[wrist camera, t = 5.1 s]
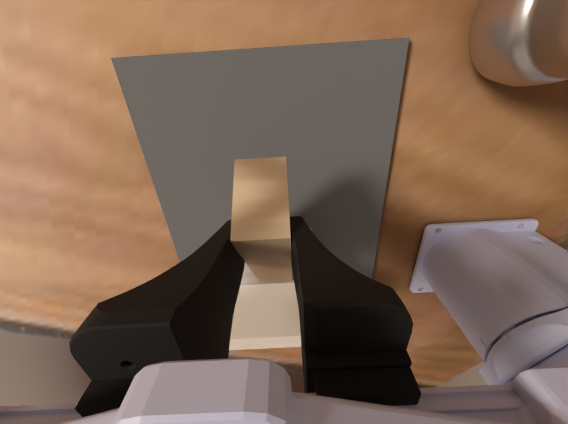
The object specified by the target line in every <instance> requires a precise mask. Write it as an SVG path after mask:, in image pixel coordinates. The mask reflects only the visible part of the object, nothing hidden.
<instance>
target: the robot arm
mask: <svg viewBox="0 0 568 424" xmlns="http://www.w3.org/2000/svg"><path fill="white" fill-rule="evenodd" d="M538 224H539V223H538V221H537V220H535V219H532V218H530V219H512V220H494V221H477V222H459V223H442V224H430V225H428V226H426V227H425V230H424V234H423V237H422V241H421V245H420V249H419V253H418V257H417V261H416V264H415V268H414V272H413V276H412V280H411V284H410V290H411V292H413V293H421V292H435V294H436V295H437V296H438V298H439V299H440V301H441V302H442V304H443V305H444V306H445V308H446V309H447V311H448V312H449V314H450V315H451V316H452V318H453V319H454V321H455V322H456V323H457V325H458V326H459V328H460V329H461V331H462V332H463V333H464V335H465V336H466V338H467V339H468V340H469V342H470V343H471V345H472V346H473V348H474V349H475V350H476V352H477V353H478V355H479V356H480V357H481V359H482V360H483V362H484V363H485V364H484V365H483V366H482V367H481V368H480V369H478V372H479V373H480V375H481V376H482V378H483V379H484V381H485V382H486V384H487V385H480V386H459V387H458V386H457V387H434V388H419V387H418V384H417V382H416V380H415V377H414V375H413V373H412V371H411V368H410V366H411V359H410V357H409V355H408V353H407V350H406V349H407V346H408V342H409V339H410V336H411V333H412V327H413V322H412V319H411V316H410V314H409V312H408V311H407V309H406V307H405V305H404V304H403V302H402V301H401V299H400V298H399V296H398V295H397V294H396V292H395V291H394V289H393V288H391V287H388V286H386V285H384V284H382V283H379V282H377V281H375V280H373V279H371V278H369V277H367V276H365V275H363V274H361V273H360V272H358V271H356V270H355V269H353V268H351V267H350V266H348V265H347V264H345V263H344V262H342V261H341V260H340V259H338V258H337V257H336V256H335V255H334V254H332V253H331V252H330V251H329V250H328V249H327V248H326V247H325V246H324V245H323V244H322V243H321V242H320V241H319V239H318V238H317V237H316V236H315V235H314V233H313V232H312V231H311V230H310V228H309V227H308V225H307V224H306V222H305V220H304V219H303V217H302V216H294V217H290V234H291V266H292V272H293V278H294V284H295V290H296V296H297V302H298V309H299V319H300V333H301V347H302V361H303V376H304V390H305V393H297V392H292V389H291V379H290V377H289V375H288V374H287V372H286V370H285V369H284V368H283V367H282V366H280V365H278V364H276V363H274V362H272V361H270V360H268V359H259V358H229V359H228V354H229V345H230V337H231V329H232V321H233V315H234V309H235V305H236V301H237V297H238V293H239V289H240V284H241V280H242V276H243V272H244V266H245V260H244V259H243V258H242V256H241V255H240V254H239V253H238V251H237V250H236V249H235V247H234V246H233V244H232V243H231V242H230V237H231V220H228V221H227V222H226V223H225V224H224V225H223V226H222V227H221V228H220V229H219V230H218V231H217V232H216V233H215V234H214V235H213V236H212V237H210V238H209V239H208V240H207V241H206V242H205V243H204V244H203V245H202V246H200V247H199V248H198V249H197V250H196V251H195V252H193V253H192V254H191V255H190V256H188V257H187V258H186V259H184V260H183V261H181V262H180V263H178V264H177V265H175V266H174V267H172V268H171V269H169V270H167V271H166V272H164V273H162V274H161V275H159V276H157V277H155V278H154V279H152V280H150V281H148V282H146V283H144V284H142V285H140V286H138V287H136V288H134V289H131V290H129V291H127V292H125V293H122V294H120V295H117V296H115V297H113V298H110V299H108V300H105V301H103V302H100V303H98V304H97V306H96V307H95V308H94V309H93V311H92V312H91V313H90V314H89V316H88V317H87V318H86V319H85V321H84V322H83V323H82V324H81V326H80V327H79V328H78V330H77V331H76V332H75V333H74V335H73V336H72V338H71V340H70V342H69V345H70V351H71V353H72V355H73V357H74V359H75V360H76V361H77V362H78V364H79V365H80V366H81V367H82V368H83V370H84V371H85V372H86V374H87V375H88V376H89V378H90V379H91V380H92V381H91V383H90V384H89V386H88V388H87V389H86V391H85V393H84V394H83V396H82V397H81V399H80V401H79V402H78V403H68V404H45V405H22V406H0V424H568V251H567V250H565V249H564V248H562V247H560V246H559V245H557V244H556V243H554V242H552V241H551V240H549V239H547V238H546V237H544V236H543V235H541V234H539V233H538V232H536V231H535V230H536V228H537V226H538ZM438 228H439V229H438ZM436 229H438V230H436Z"/></svg>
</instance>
